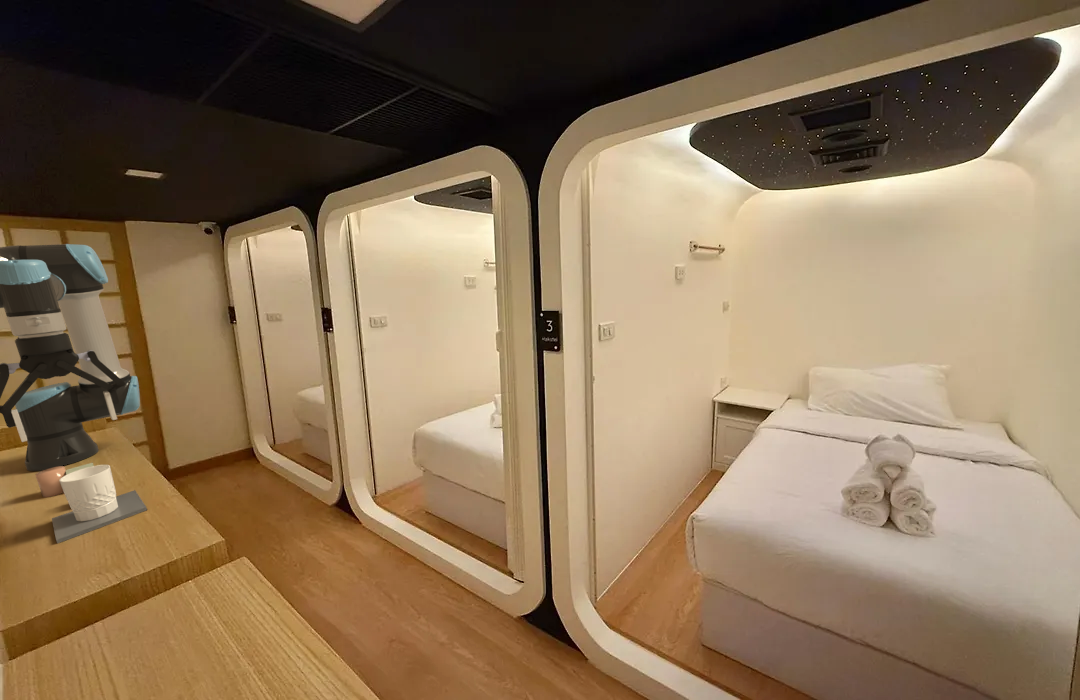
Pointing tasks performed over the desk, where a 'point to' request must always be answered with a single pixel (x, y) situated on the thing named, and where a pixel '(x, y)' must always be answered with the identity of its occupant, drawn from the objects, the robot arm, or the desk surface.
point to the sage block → (78, 468)
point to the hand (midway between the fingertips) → (71, 428)
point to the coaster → (71, 527)
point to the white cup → (90, 492)
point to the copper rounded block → (51, 481)
